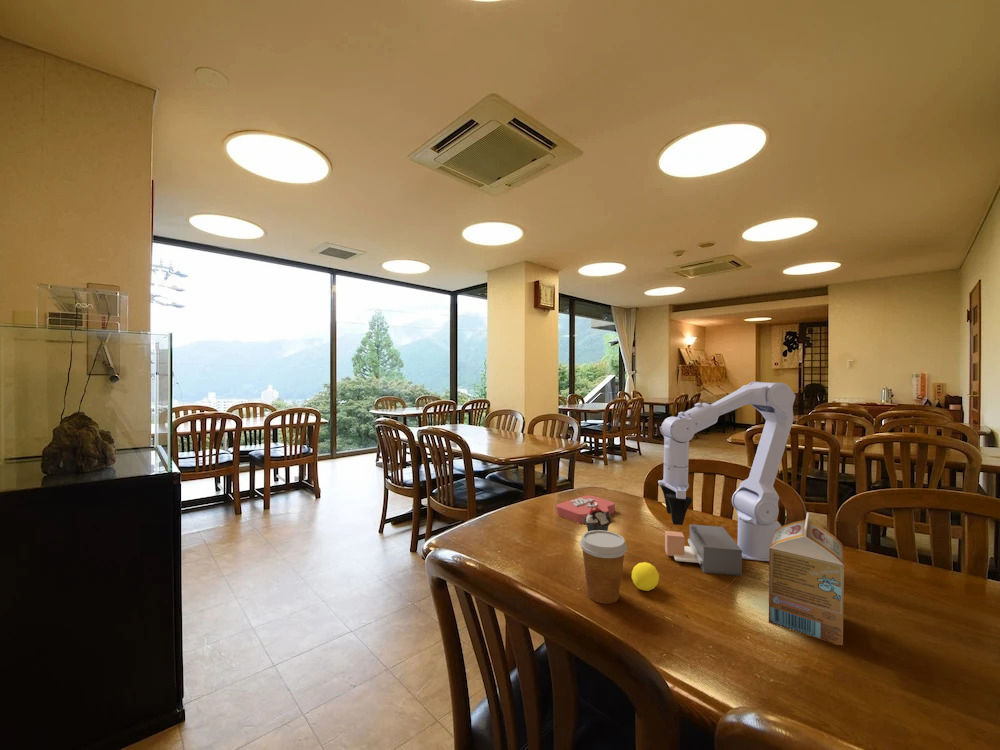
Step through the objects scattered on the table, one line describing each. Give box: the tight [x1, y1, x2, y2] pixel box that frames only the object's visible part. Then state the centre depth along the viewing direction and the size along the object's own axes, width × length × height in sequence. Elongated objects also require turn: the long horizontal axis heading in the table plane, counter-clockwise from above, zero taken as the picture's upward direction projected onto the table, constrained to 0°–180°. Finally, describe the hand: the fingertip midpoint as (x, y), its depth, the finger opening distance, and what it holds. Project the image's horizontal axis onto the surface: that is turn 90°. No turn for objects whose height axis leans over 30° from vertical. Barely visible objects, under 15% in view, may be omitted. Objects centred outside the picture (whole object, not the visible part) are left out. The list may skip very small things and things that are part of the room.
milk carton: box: [768, 512, 845, 646], centre depth 76 cm, size 11×11×19 cm
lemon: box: [631, 561, 660, 592], centre depth 87 cm, size 7×5×5 cm
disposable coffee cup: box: [579, 530, 628, 605], centre depth 84 cm, size 10×10×12 cm
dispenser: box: [687, 523, 743, 577], centre depth 100 cm, size 9×14×6 cm, turn 167°
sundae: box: [584, 502, 612, 532], centre depth 99 cm, size 7×7×15 cm
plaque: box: [555, 494, 616, 524], centre depth 132 cm, size 18×4×15 cm
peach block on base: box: [664, 530, 699, 564], centre depth 101 cm, size 14×8×5 cm, turn 77°
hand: (674, 518), depth 102 cm, fingers open, 7 cm apart
